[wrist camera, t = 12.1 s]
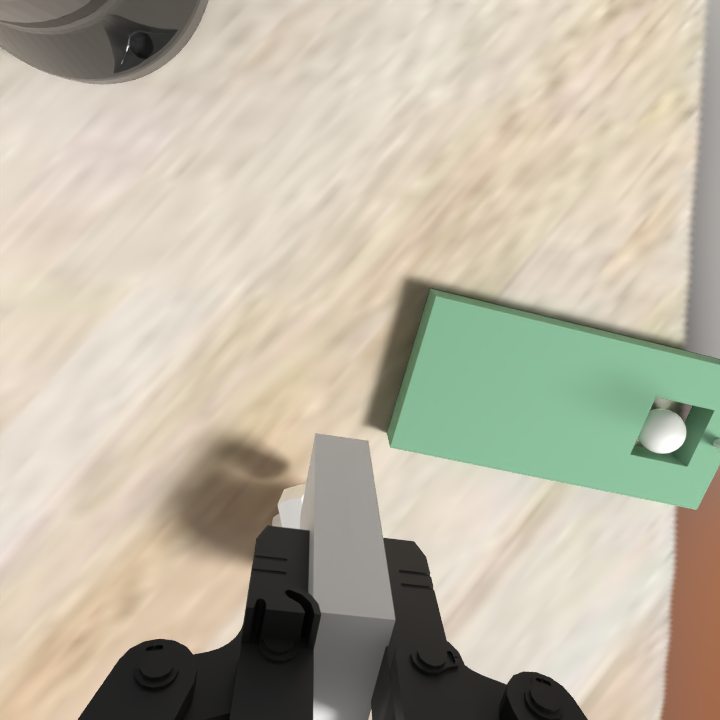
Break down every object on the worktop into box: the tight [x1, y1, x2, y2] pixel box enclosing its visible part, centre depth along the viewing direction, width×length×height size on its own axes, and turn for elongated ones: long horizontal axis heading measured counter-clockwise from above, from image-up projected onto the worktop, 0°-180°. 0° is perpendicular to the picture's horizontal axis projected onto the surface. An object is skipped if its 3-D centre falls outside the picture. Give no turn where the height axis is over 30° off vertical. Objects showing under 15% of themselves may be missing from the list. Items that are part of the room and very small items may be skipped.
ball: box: [638, 408, 686, 454], centre depth 47 cm, size 4×4×4 cm
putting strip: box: [387, 288, 720, 510], centre depth 41 cm, size 12×26×14 cm, turn 75°
